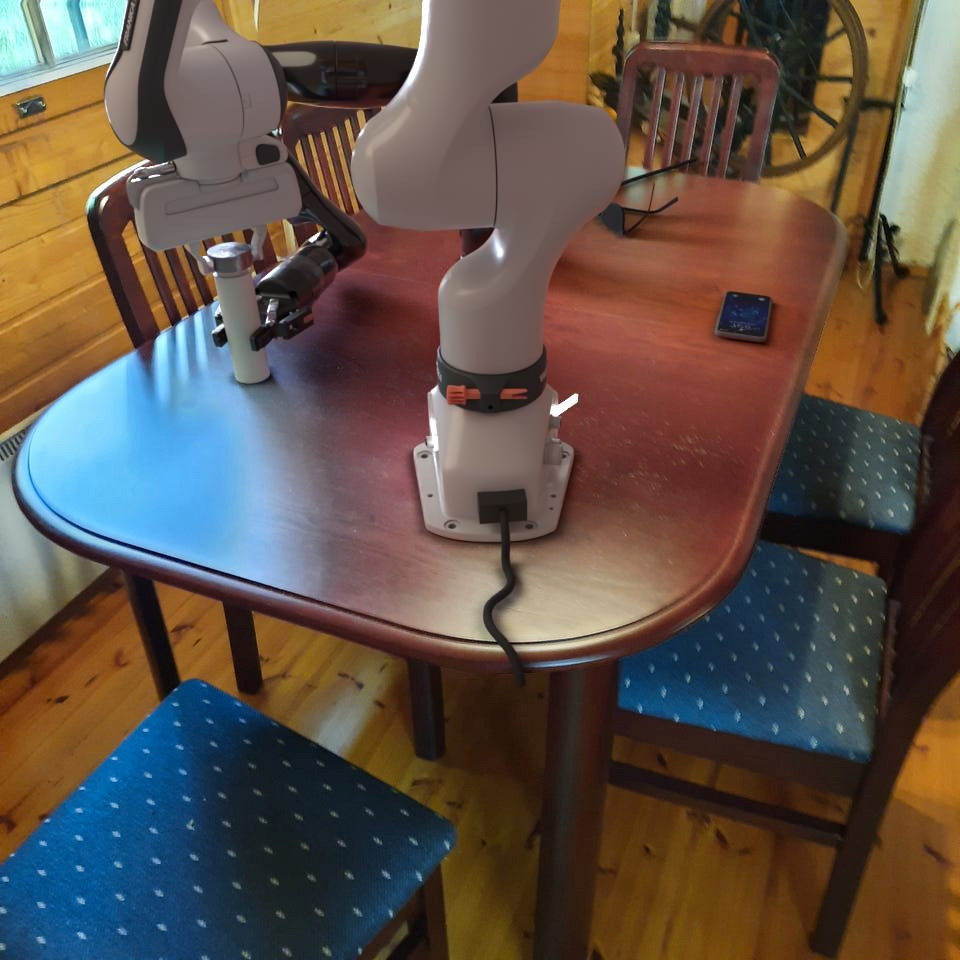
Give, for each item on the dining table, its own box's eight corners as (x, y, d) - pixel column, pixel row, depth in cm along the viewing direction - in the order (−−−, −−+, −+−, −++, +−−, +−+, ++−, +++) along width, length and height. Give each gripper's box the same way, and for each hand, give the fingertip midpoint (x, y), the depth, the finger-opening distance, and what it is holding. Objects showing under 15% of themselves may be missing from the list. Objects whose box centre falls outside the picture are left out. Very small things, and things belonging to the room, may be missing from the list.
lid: (201, 266, 109) (197, 250, 107) (236, 253, 112) (233, 238, 110) (226, 277, 106) (222, 261, 104) (261, 263, 109) (258, 248, 108)
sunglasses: (688, 228, 158) (691, 201, 155) (616, 238, 155) (618, 210, 152) (648, 199, 171) (651, 174, 168) (581, 208, 168) (582, 182, 165)
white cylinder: (276, 370, 119) (255, 253, 109) (258, 385, 115) (234, 266, 105) (247, 365, 120) (224, 249, 110) (228, 380, 117) (202, 262, 107)
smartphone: (773, 295, 132) (766, 339, 121) (772, 301, 133) (765, 345, 121) (725, 289, 134) (713, 331, 123) (724, 295, 135) (712, 337, 123)
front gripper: (130, 179, 93) (162, 296, 102) (298, 143, 103) (314, 253, 111) (112, 165, 98) (143, 279, 106) (275, 132, 107) (292, 239, 115)
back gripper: (242, 261, 124) (179, 311, 111) (333, 269, 121) (279, 322, 108) (251, 309, 129) (192, 362, 116) (339, 318, 126) (289, 374, 112)
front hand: (232, 266), depth 109 cm, fingers closed on lid, 5 cm apart
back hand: (235, 342), depth 112 cm, fingers closed on white cylinder, 4 cm apart
